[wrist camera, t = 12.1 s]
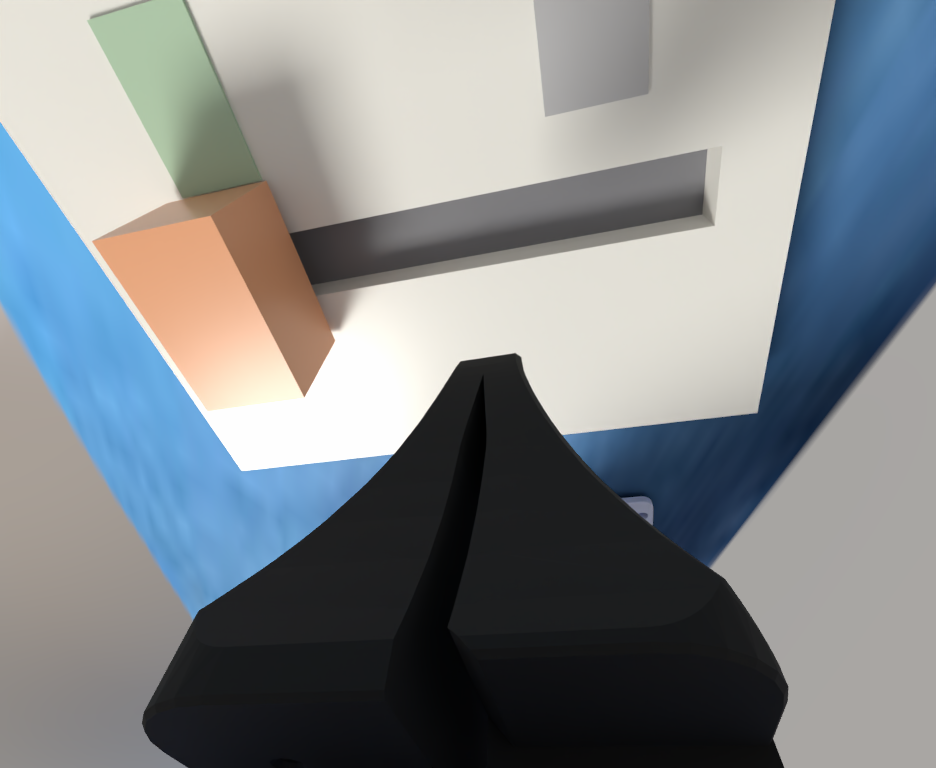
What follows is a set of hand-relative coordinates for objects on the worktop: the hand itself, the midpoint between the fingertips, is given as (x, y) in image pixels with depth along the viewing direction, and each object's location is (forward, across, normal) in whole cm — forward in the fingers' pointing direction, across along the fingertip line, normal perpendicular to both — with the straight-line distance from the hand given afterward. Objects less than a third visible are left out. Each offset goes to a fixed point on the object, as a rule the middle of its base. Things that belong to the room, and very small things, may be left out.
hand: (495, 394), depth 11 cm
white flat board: (+7, +2, -2) cm, 7 cm away
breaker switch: (+5, +7, -2) cm, 9 cm away
